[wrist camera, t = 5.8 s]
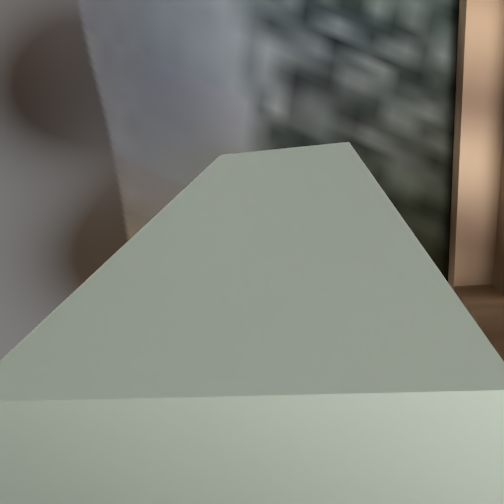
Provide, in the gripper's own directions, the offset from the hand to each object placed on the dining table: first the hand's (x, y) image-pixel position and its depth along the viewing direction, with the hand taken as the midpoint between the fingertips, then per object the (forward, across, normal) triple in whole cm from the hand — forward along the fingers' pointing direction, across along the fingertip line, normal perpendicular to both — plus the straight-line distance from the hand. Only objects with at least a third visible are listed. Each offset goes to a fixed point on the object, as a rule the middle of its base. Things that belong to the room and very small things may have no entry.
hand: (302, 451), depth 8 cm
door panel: (+2, 0, 0) cm, 2 cm away
